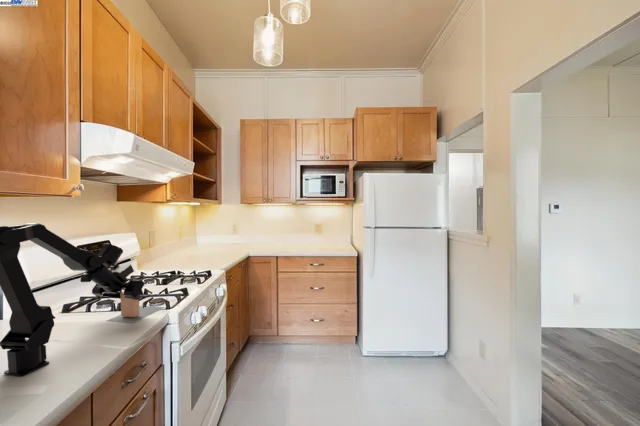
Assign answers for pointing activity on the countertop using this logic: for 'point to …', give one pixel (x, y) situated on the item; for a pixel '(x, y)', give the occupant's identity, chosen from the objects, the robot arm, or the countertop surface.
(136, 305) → the tan flat block
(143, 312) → the mat
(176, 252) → the countertop surface
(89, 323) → the countertop surface
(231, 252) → the countertop surface
